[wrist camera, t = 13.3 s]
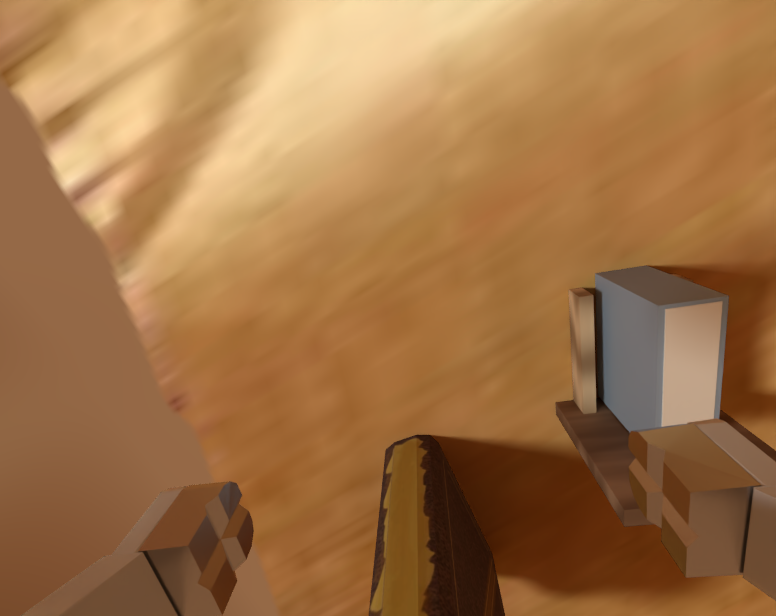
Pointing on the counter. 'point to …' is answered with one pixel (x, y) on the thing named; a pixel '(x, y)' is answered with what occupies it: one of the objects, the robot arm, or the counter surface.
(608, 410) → the wooden display stand
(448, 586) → the book
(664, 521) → the robot arm
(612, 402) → the box book
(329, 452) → the counter surface
